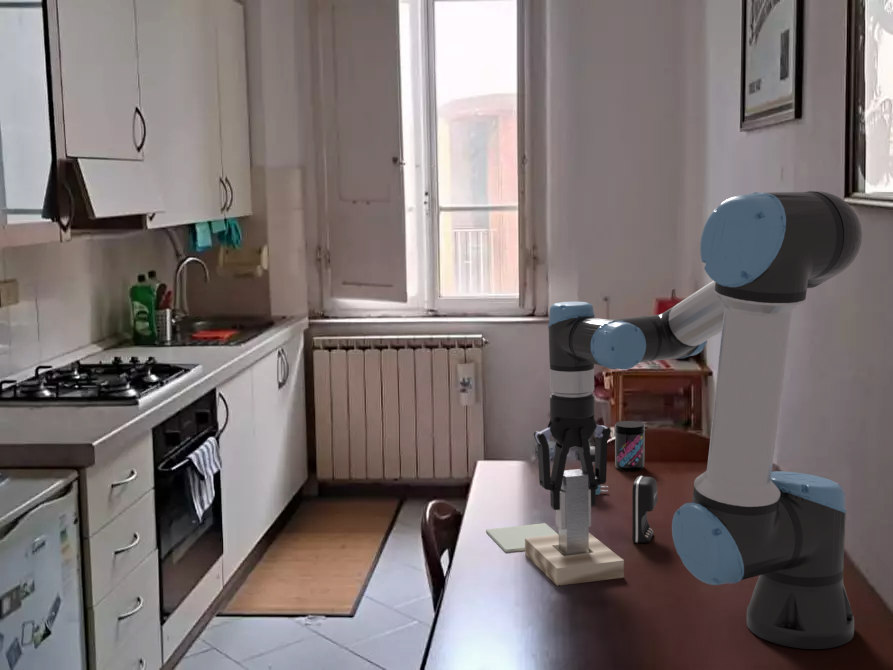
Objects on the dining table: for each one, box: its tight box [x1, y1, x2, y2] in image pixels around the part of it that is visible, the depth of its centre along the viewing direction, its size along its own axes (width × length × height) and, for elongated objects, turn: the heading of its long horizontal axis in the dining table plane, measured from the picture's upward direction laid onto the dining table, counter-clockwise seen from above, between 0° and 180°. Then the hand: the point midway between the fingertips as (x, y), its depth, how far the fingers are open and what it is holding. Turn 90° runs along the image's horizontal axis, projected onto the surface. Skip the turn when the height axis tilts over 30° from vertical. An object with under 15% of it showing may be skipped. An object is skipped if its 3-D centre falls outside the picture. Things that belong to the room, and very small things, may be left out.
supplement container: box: [614, 420, 646, 472], centre depth 248 cm, size 7×7×10 cm
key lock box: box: [631, 475, 658, 544], centre depth 200 cm, size 7×4×11 cm, turn 161°
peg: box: [557, 468, 590, 556], centre depth 186 cm, size 4×4×14 cm
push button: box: [576, 445, 609, 496], centre depth 229 cm, size 7×5×10 cm
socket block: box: [524, 532, 625, 586], centre depth 187 cm, size 16×12×3 cm
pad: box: [485, 522, 558, 553], centre depth 202 cm, size 12×12×1 cm
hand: (573, 525), depth 186 cm, fingers closed on peg, 4 cm apart
